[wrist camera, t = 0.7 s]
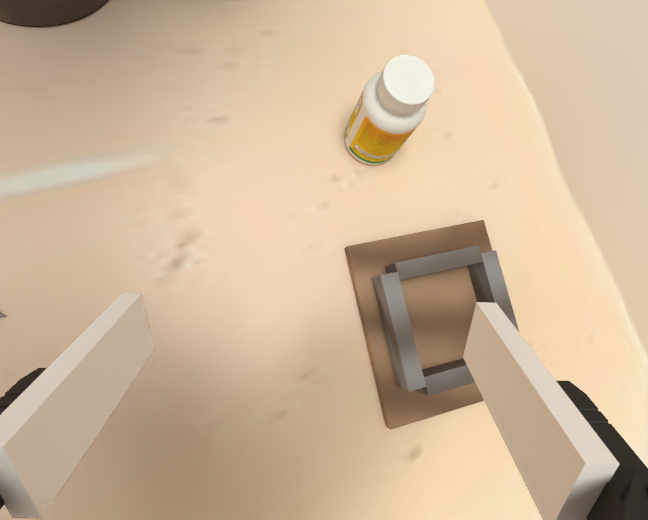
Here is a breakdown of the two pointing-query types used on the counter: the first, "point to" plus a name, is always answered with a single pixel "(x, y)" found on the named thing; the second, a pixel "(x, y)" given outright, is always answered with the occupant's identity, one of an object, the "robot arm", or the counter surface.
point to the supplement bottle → (389, 109)
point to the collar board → (425, 315)
